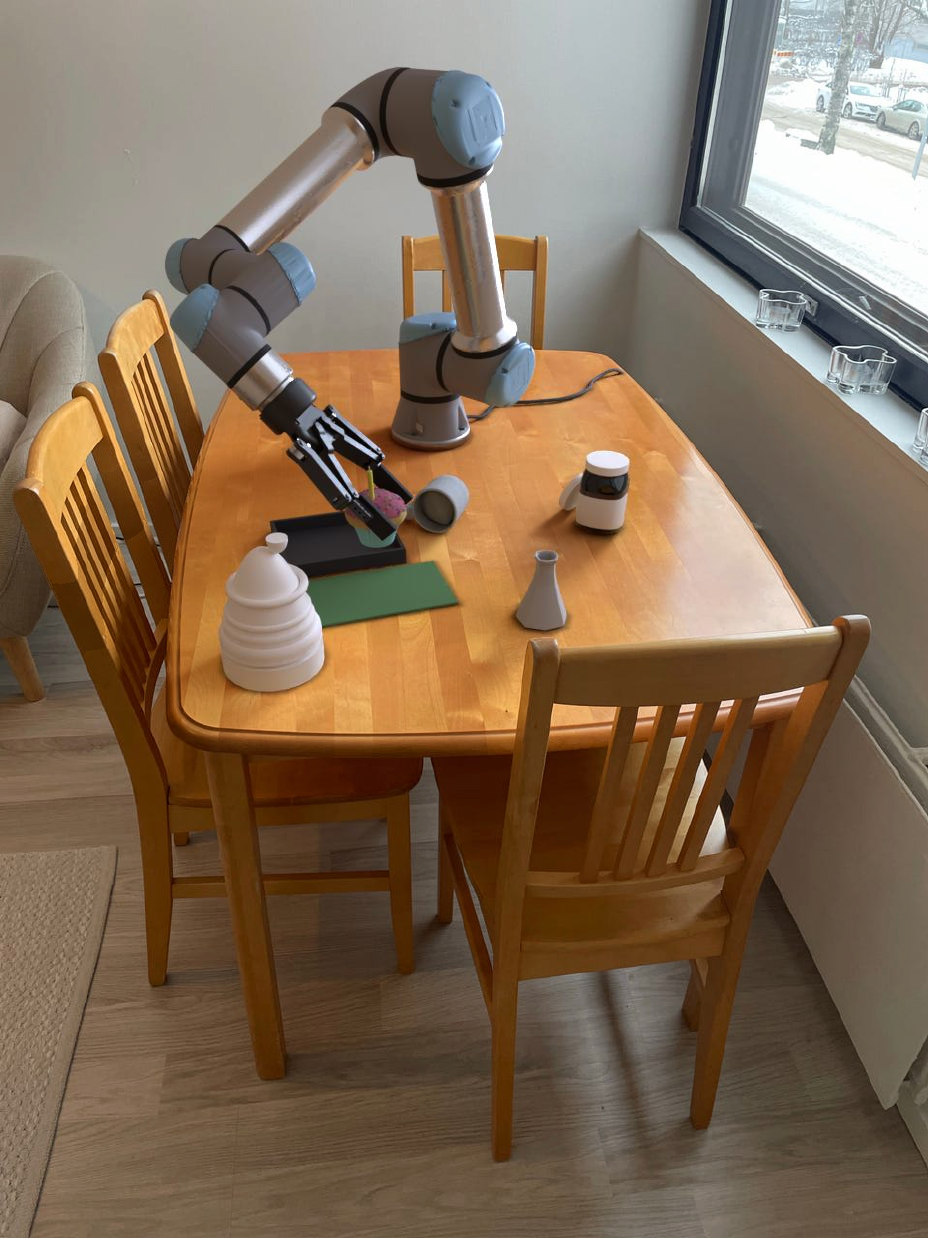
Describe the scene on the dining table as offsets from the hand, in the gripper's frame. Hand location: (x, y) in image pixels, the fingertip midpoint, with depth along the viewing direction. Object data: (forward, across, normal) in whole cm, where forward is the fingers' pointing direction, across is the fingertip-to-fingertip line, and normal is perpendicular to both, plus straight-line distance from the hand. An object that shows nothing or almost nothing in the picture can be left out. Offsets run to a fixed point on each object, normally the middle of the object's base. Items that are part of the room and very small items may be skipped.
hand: (398, 518), depth 124 cm
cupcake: (0, 0, -5) cm, 5 cm away
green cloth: (+7, 0, -11) cm, 13 cm away
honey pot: (0, +19, -17) cm, 26 cm away
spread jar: (+27, -29, +9) cm, 40 cm away
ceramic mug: (+9, -23, -9) cm, 26 cm away
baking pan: (0, -11, -18) cm, 21 cm away
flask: (+23, +1, +6) cm, 24 cm away
